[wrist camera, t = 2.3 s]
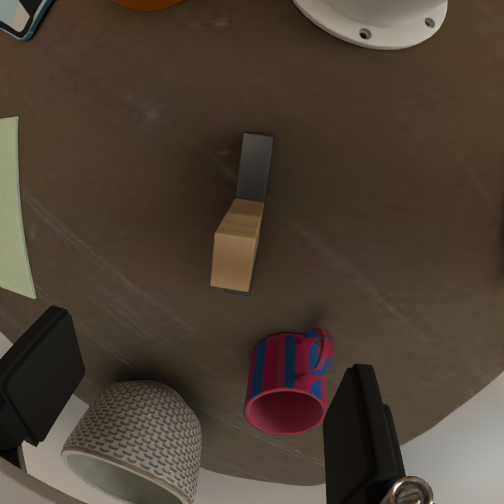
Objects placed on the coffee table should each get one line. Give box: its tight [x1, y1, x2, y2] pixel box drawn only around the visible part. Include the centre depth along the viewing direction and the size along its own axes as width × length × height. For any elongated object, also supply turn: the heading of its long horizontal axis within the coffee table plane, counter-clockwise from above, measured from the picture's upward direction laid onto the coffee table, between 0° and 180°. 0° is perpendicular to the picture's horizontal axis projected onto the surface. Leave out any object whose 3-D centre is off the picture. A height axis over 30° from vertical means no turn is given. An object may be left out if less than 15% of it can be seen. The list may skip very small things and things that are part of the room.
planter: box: [61, 380, 202, 504], centre depth 28 cm, size 14×14×13 cm
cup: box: [244, 328, 333, 436], centre depth 25 cm, size 7×10×7 cm
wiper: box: [210, 131, 275, 296], centre depth 20 cm, size 12×2×8 cm, turn 172°
